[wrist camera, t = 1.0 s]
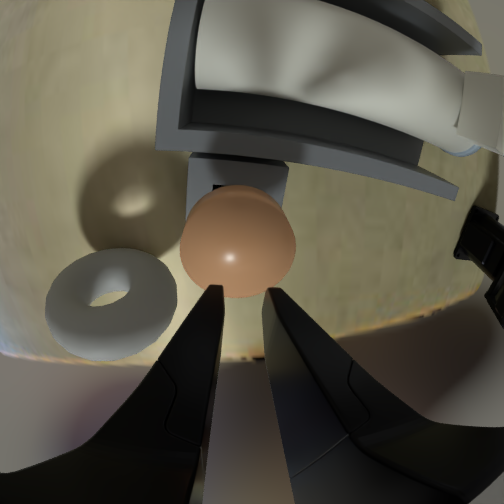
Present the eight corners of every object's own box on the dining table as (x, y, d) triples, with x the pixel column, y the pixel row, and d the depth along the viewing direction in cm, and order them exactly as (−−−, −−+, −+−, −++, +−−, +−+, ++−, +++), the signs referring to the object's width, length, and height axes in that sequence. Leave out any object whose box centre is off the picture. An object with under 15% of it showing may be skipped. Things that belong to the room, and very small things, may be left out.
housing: (430, 46, 13) (481, 44, 8) (388, 231, 22) (426, 270, 17) (201, -21, 10) (194, -63, 5) (173, 210, 19) (155, 253, 14)
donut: (82, 274, 21) (37, 359, 12) (73, 241, 19) (13, 323, 11) (186, 275, 22) (173, 379, 14) (183, 239, 20) (161, 341, 12)
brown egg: (278, 167, 14) (307, 204, 9) (265, 239, 16) (283, 299, 12) (196, 159, 13) (181, 193, 9) (192, 233, 16) (180, 294, 11)
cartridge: (438, 75, 13) (531, 89, 5) (426, 144, 16) (515, 186, 9) (216, 5, 11) (211, -73, 3) (202, 93, 14) (175, 81, 6)
